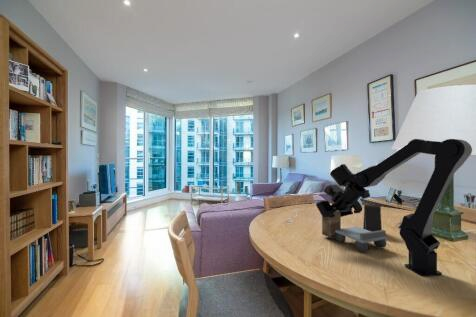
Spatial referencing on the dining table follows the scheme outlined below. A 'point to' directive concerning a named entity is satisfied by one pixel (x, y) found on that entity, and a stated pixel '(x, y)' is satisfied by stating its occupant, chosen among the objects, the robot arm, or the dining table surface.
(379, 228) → the door stopper
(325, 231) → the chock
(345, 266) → the dining table surface
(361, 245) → the dolly
